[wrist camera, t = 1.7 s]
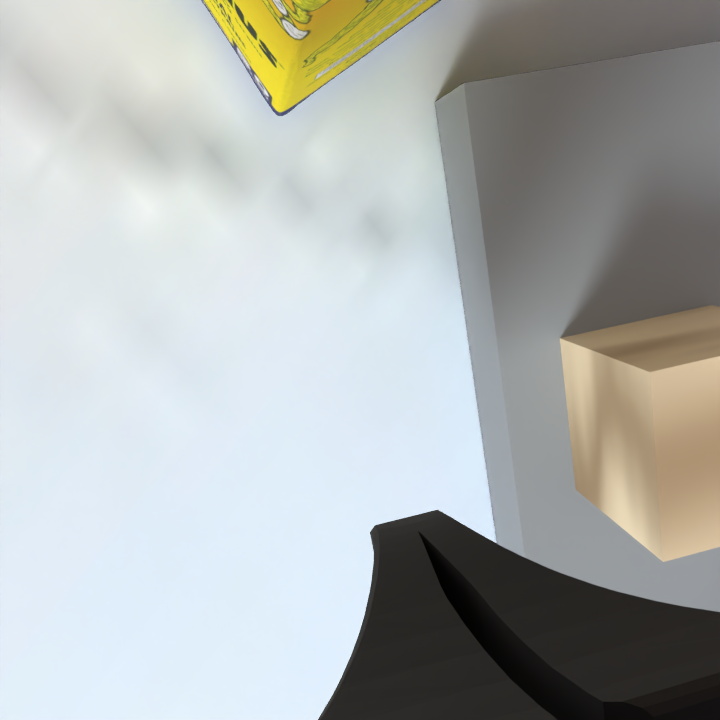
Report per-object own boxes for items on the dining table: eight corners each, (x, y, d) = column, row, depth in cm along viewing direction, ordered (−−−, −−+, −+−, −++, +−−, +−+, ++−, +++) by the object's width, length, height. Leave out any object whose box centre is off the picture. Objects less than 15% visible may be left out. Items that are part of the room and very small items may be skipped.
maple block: (717, 454, 19) (839, 514, 15) (575, 489, 18) (663, 561, 14) (710, 305, 18) (839, 328, 14) (559, 338, 17) (650, 372, 13)
